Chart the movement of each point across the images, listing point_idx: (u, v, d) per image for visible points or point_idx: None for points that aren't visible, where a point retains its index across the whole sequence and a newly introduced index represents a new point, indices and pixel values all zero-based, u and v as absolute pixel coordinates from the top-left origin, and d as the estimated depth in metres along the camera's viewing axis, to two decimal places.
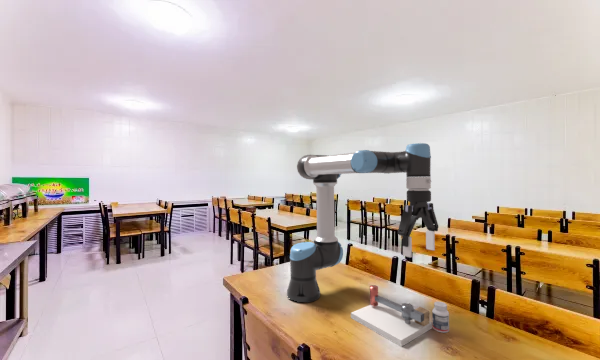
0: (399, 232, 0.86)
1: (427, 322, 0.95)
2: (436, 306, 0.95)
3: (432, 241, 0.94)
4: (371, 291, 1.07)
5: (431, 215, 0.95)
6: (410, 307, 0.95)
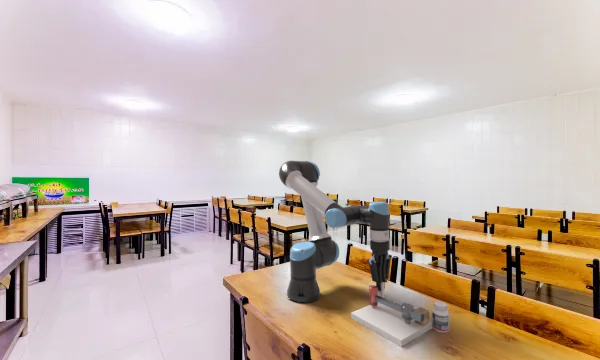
0: (373, 280, 1.09)
1: (427, 322, 0.95)
2: (436, 306, 0.95)
3: None
4: (371, 291, 1.07)
5: (386, 264, 1.12)
6: (410, 307, 0.95)
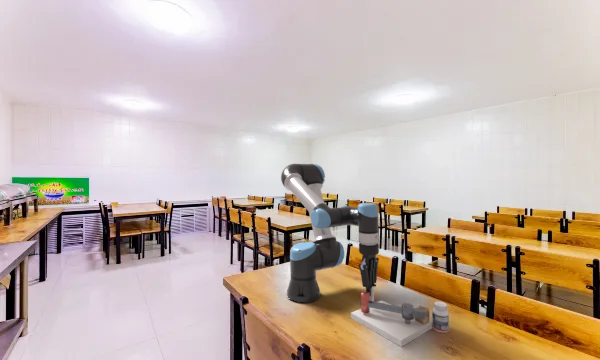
0: (364, 286, 1.04)
1: (427, 320, 0.96)
2: (436, 306, 0.95)
3: None
4: (365, 298, 1.01)
5: (374, 268, 1.09)
6: (411, 306, 0.95)
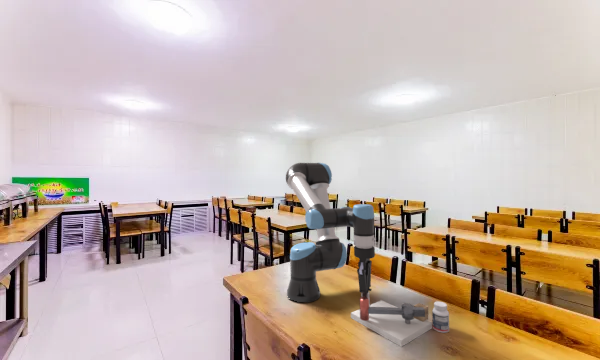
0: (361, 291, 0.99)
1: (426, 318, 0.98)
2: (436, 306, 0.95)
3: None
4: (365, 305, 0.96)
5: None
6: (411, 306, 0.96)
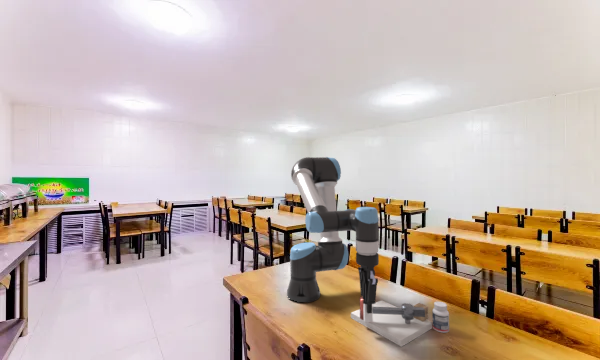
0: (370, 303, 0.90)
1: (426, 318, 0.98)
2: (436, 306, 0.95)
3: None
4: None
5: None
6: (411, 306, 0.96)
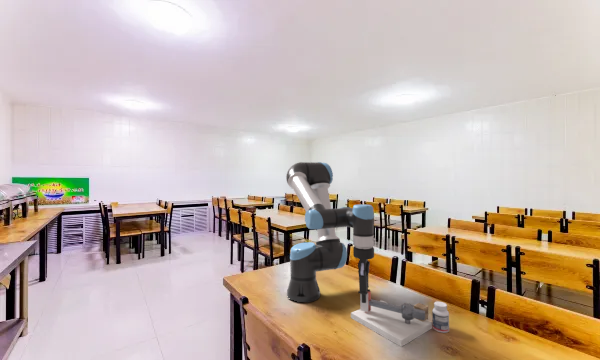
0: (361, 293, 0.98)
1: (426, 318, 0.98)
2: (436, 306, 0.95)
3: None
4: None
5: None
6: (411, 307, 0.95)
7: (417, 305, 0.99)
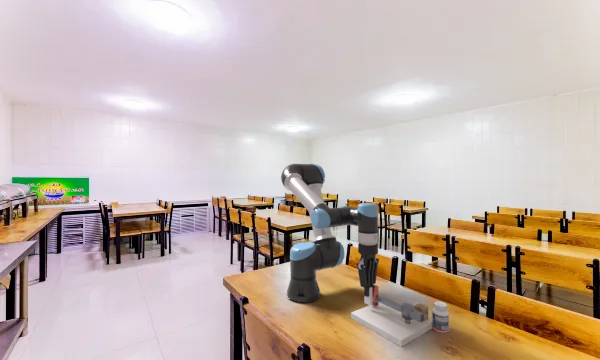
0: (362, 286, 1.04)
1: (426, 318, 0.98)
2: (436, 306, 0.95)
3: None
4: (372, 291, 1.08)
5: (374, 269, 1.08)
6: (410, 307, 0.95)
7: (417, 305, 0.99)
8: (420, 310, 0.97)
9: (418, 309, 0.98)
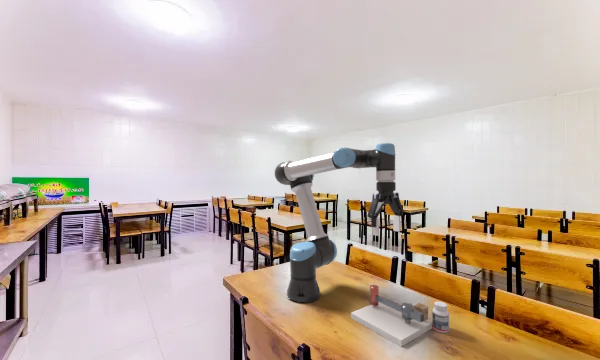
0: (368, 215, 1.06)
1: (426, 318, 0.98)
2: (436, 306, 0.95)
3: (398, 224, 1.14)
4: (372, 291, 1.08)
5: (397, 202, 1.15)
6: (410, 307, 0.95)
7: (417, 305, 0.99)
8: (420, 310, 0.97)
9: (418, 309, 0.98)
